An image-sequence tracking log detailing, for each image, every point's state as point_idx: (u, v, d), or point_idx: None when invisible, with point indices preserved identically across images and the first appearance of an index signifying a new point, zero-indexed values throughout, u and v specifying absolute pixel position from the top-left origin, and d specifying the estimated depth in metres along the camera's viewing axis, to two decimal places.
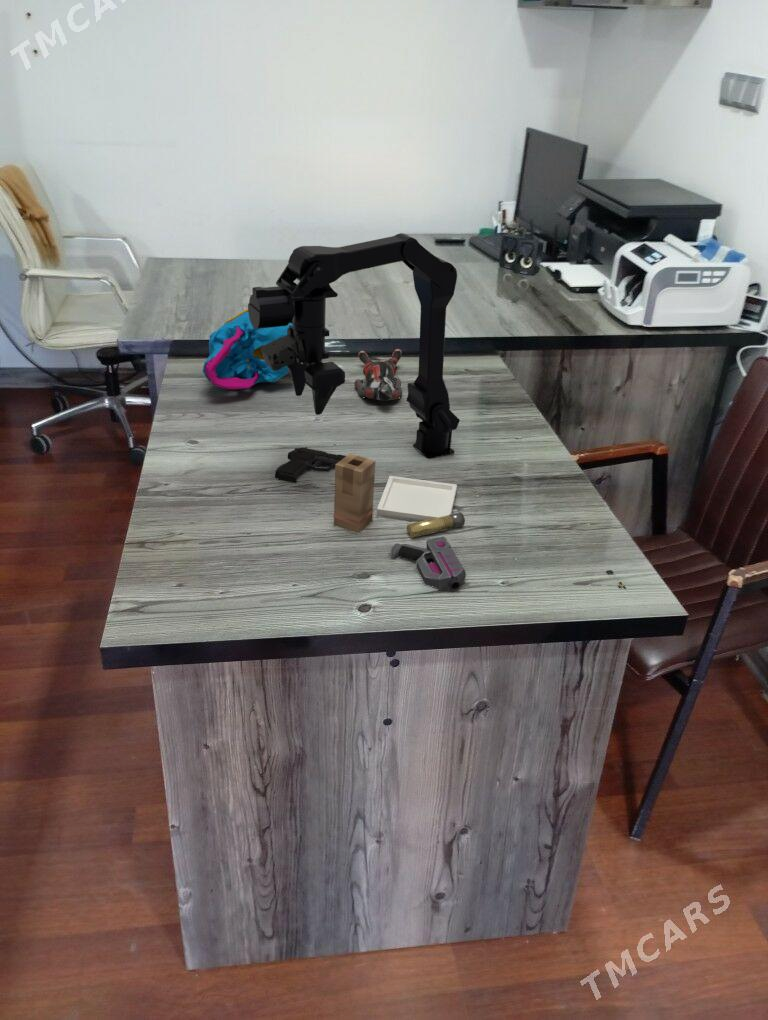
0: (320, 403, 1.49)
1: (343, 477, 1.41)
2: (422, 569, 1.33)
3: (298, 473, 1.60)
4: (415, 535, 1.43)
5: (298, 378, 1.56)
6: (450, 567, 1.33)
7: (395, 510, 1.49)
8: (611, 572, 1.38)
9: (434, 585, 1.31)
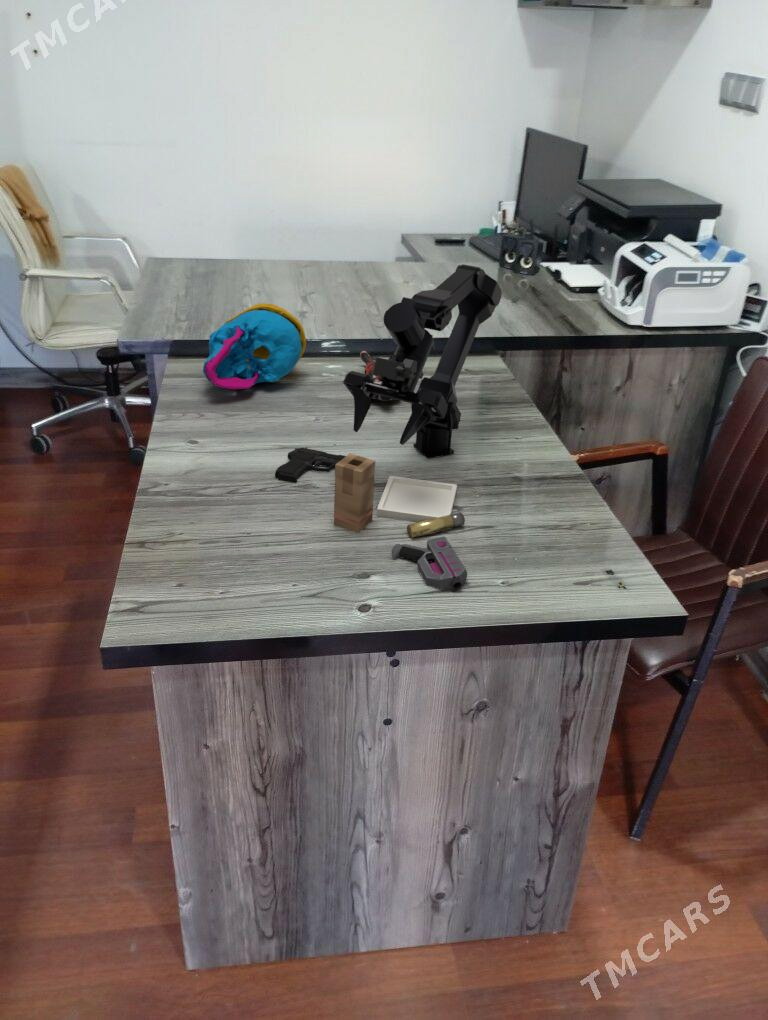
0: (411, 432, 1.45)
1: (343, 477, 1.41)
2: (423, 569, 1.33)
3: (298, 473, 1.60)
4: (415, 535, 1.43)
5: (361, 413, 1.49)
6: (451, 567, 1.33)
7: (395, 510, 1.49)
8: (611, 572, 1.38)
9: (436, 585, 1.31)
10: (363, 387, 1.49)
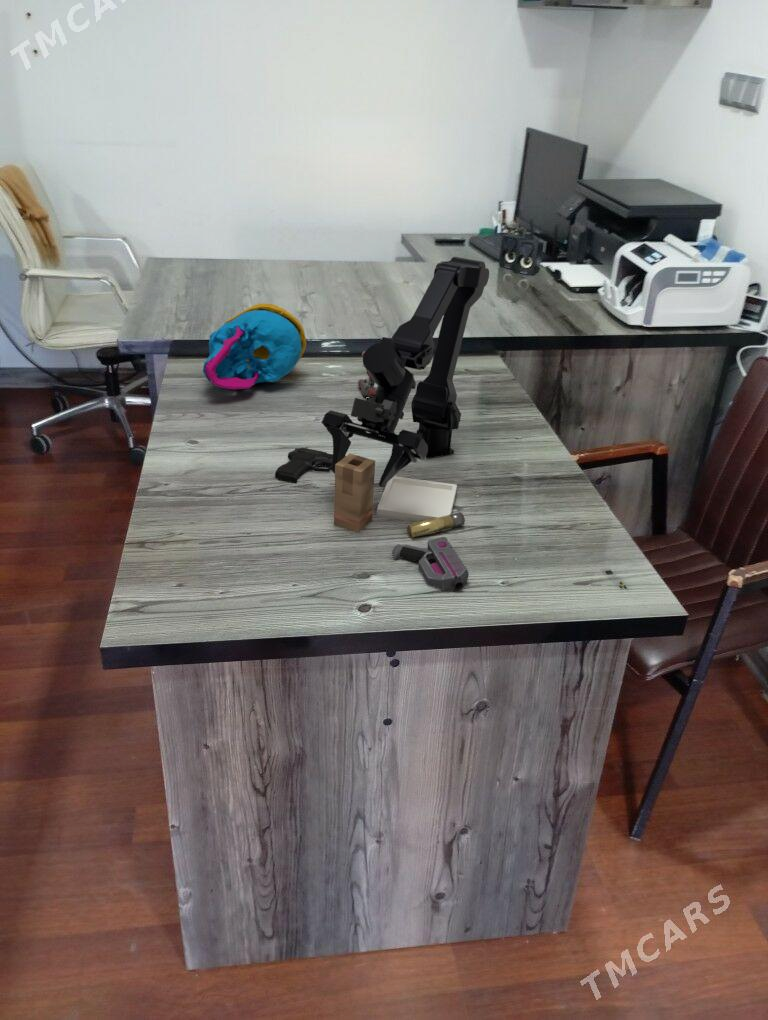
0: (390, 474, 1.42)
1: (343, 477, 1.41)
2: (425, 570, 1.33)
3: (298, 473, 1.60)
4: (415, 535, 1.43)
5: (340, 454, 1.46)
6: (453, 567, 1.33)
7: (395, 510, 1.49)
8: (610, 572, 1.38)
9: (437, 585, 1.31)
10: (342, 427, 1.45)
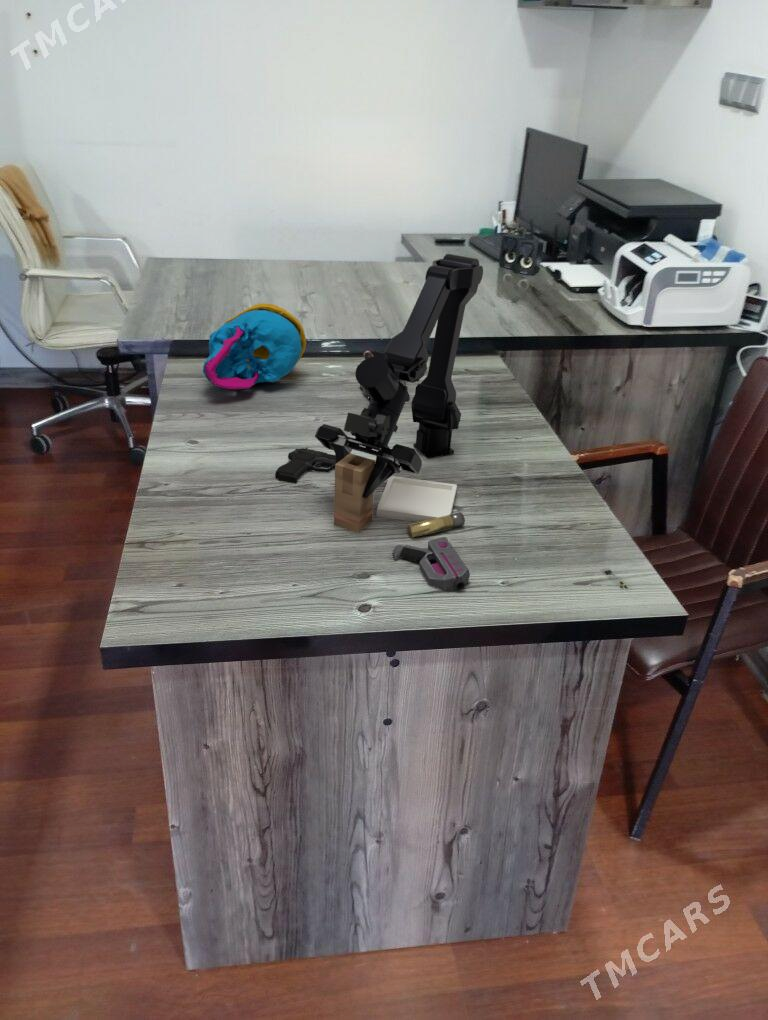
0: (374, 485, 1.42)
1: (343, 477, 1.40)
2: (426, 570, 1.33)
3: (298, 473, 1.60)
4: (415, 535, 1.43)
5: None
6: (454, 567, 1.33)
7: (395, 510, 1.49)
8: (610, 572, 1.38)
9: (439, 586, 1.31)
10: (345, 444, 1.44)
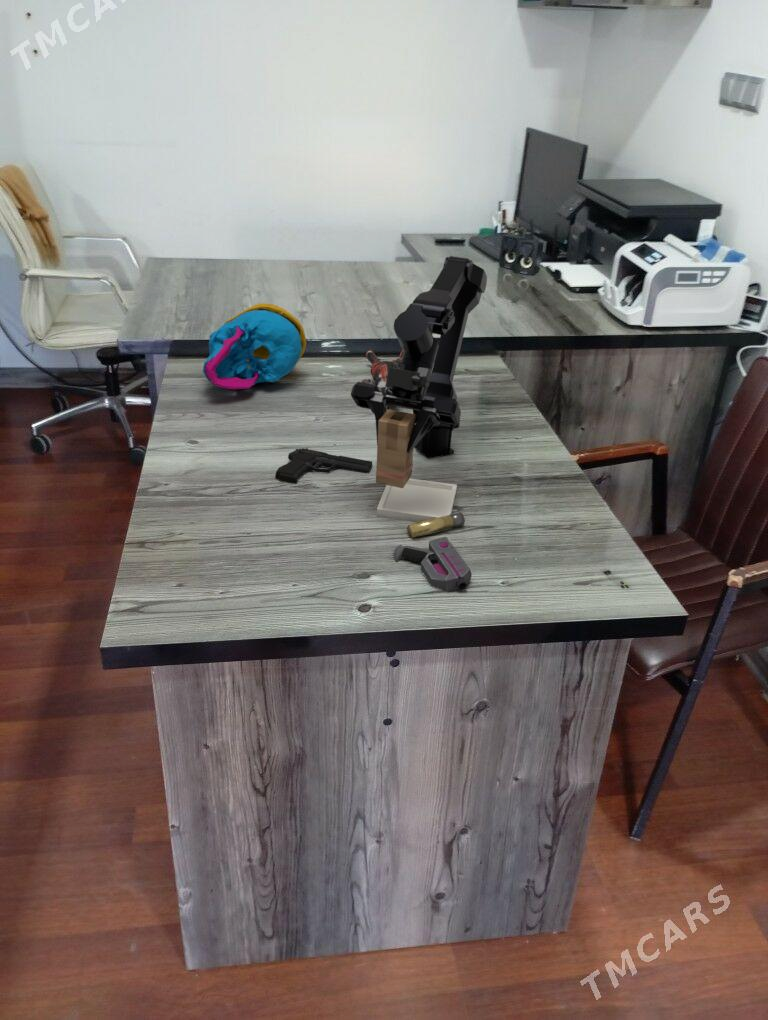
0: (417, 439, 1.42)
1: (387, 433, 1.40)
2: (428, 571, 1.33)
3: (298, 474, 1.60)
4: (415, 535, 1.43)
5: None
6: (455, 567, 1.33)
7: (395, 510, 1.49)
8: (609, 572, 1.38)
9: (441, 586, 1.31)
10: (383, 400, 1.44)
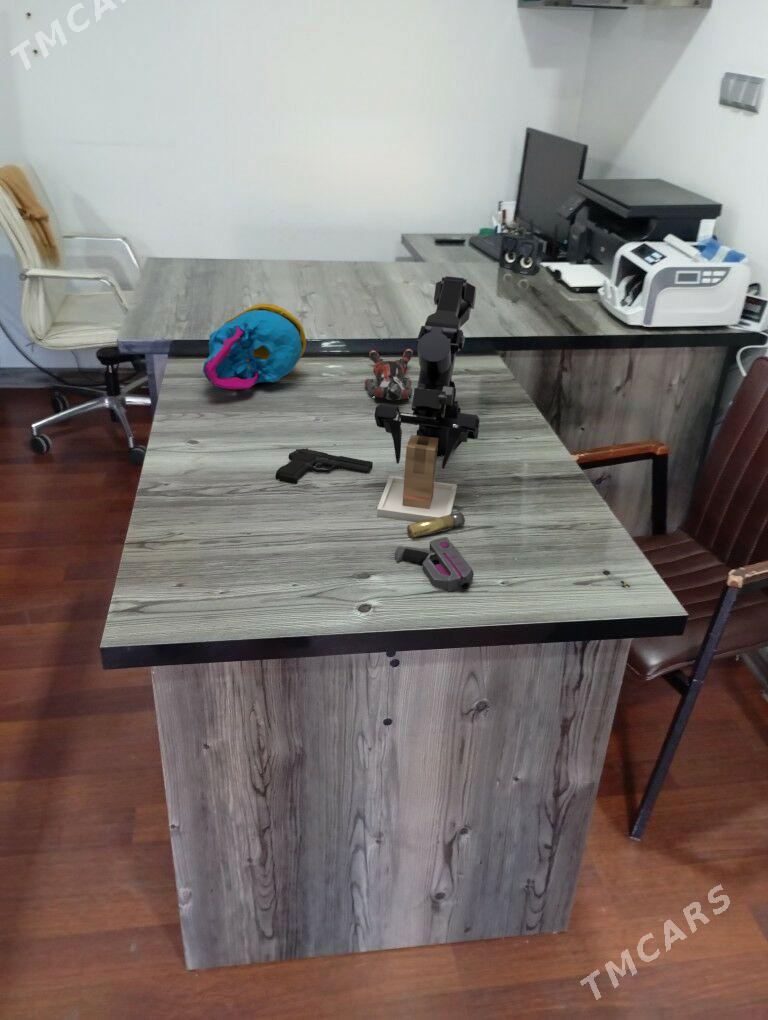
0: (450, 456, 1.49)
1: (414, 458, 1.47)
2: (430, 571, 1.33)
3: (299, 474, 1.59)
4: (415, 535, 1.43)
5: (400, 444, 1.50)
6: (458, 567, 1.33)
7: (395, 510, 1.49)
8: (608, 572, 1.37)
9: (443, 587, 1.31)
10: (398, 418, 1.49)
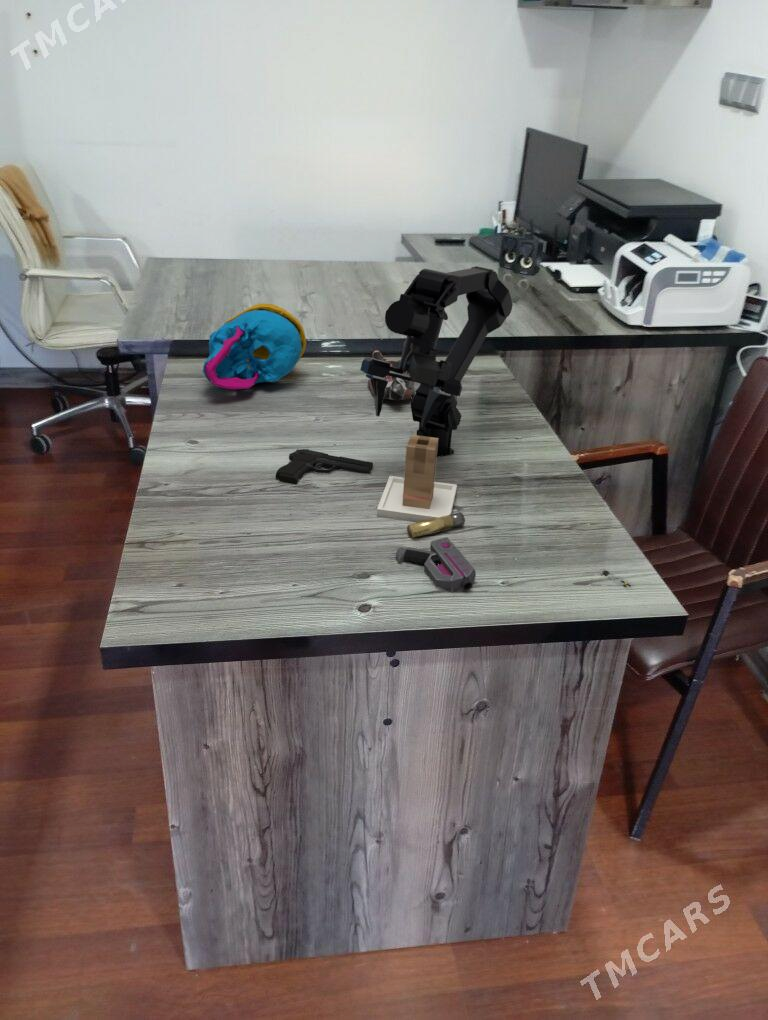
0: None
1: (415, 457, 1.47)
2: (432, 572, 1.33)
3: (299, 474, 1.59)
4: (415, 535, 1.43)
5: None
6: (460, 567, 1.33)
7: (395, 510, 1.49)
8: (607, 572, 1.37)
9: (446, 587, 1.31)
10: (385, 376, 1.53)
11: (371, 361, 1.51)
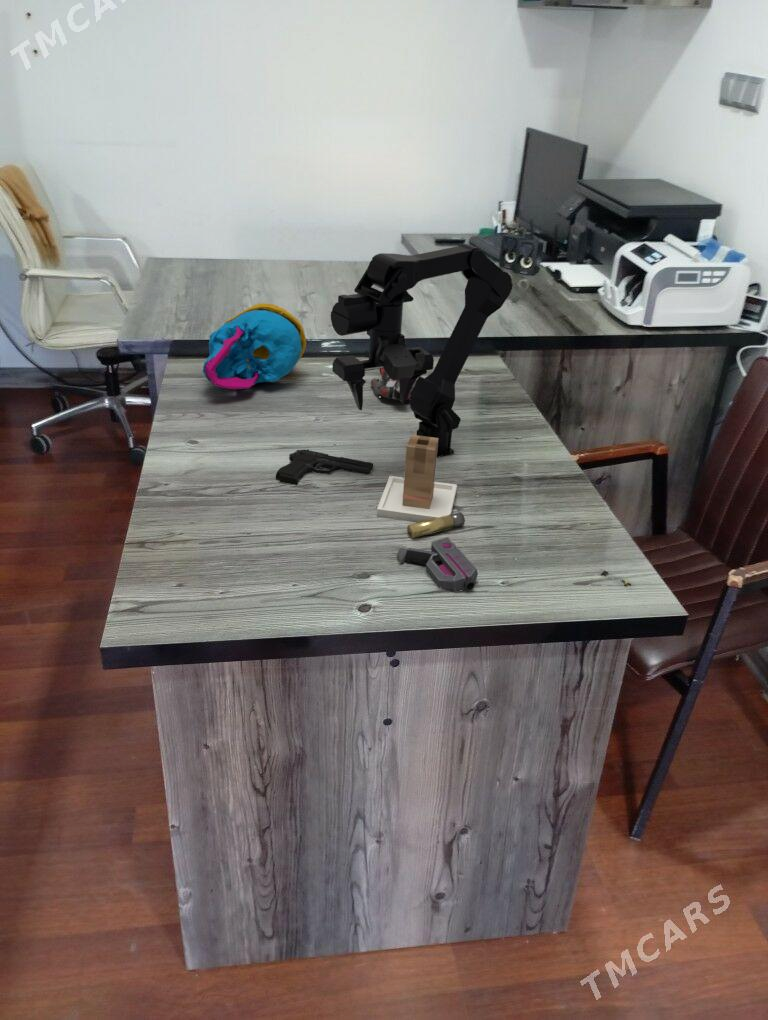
0: None
1: (415, 457, 1.47)
2: (434, 572, 1.33)
3: (299, 475, 1.59)
4: (416, 535, 1.43)
5: None
6: (462, 567, 1.33)
7: (395, 510, 1.49)
8: (606, 573, 1.37)
9: (448, 587, 1.31)
10: None
11: (345, 368, 1.49)
